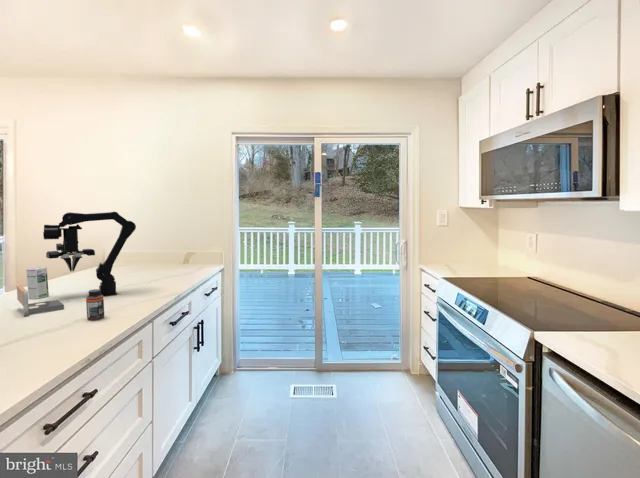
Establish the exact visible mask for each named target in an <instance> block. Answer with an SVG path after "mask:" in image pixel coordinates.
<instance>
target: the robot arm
mask: <svg viewBox="0 0 640 478" xmlns="http://www.w3.org/2000/svg"><path fill="white" fill-rule="evenodd" d="M61 218H62V220H61V222H59V223H58V224H44V225H43V240H60V238H62V235H63V241H62V243H56V246H55V247H56V250H50V251H47V252H46V254H45V255H46V256H45V258H47V259H50V260H51V259H58V258H60V259H62V260H64V262H65V263H66V265H67V267H68V270H69V272H75V269H76V267H77V264H78V263H79V262H80V259H83V255H86V256H89V257H91V256H96V250H94V249H93V248H83V249H82V250H80V249H79V239H78V238H79V237H78V235H79V233H78V230H82V229H83V227H81V226H80V224H82V223H85V222H92V221H93V222H94V221H96V222H97V221H107V220H109V221H110V220H112V221H113V220H114V221H115V222H116V223H117V224H119V225H120V226H121V228H120V232H119V235H118V238H117V239H116V241H115V243H114V244H113V246H112V248H111V250H110V252H109V254H108V256H107V257H106V259H105V260H104V261H103V262H99V264H98V266H97V268H96V269H95V272H96V274H95V276H96V279H98V280H99V281H100V282H99V285H98V289H99V290H100V292H101V295H103V297H106V296H111V295H112V296H113V295H118V292H117V282H116V279H115V276H114V275H113V274H112V270H113V266H114V263H115V262H116V261H117V258H118V256H119V254H120V253H121V250H122V248H123V247H124V245H125V243H126V242H127V240H128V238H129V237H131V235H132V234H133V233H134V232H135V231H136V228H137V226H136V223H134V221H131V220H128V219H126V218H124V216H121V215H120V214H119V213H118V212H117V211H108V212H95V213H94V212H91V213H81V212H79V213H78V212H66V213H65V214H63V215H62V217H61ZM66 226H68V227H66ZM65 227H66V228H65ZM59 251H60V252H59ZM70 256H71V257H70Z"/></svg>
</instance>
